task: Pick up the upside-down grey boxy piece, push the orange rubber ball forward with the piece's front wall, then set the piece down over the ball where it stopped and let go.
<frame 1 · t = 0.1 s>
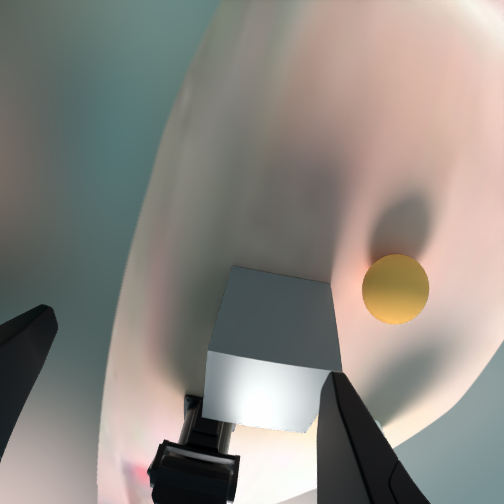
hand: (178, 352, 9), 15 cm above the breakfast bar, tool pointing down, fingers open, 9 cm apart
grey boxy piece: (272, 312, 26), on the breakfast bar
ball: (395, 289, 21), on the breakfast bar
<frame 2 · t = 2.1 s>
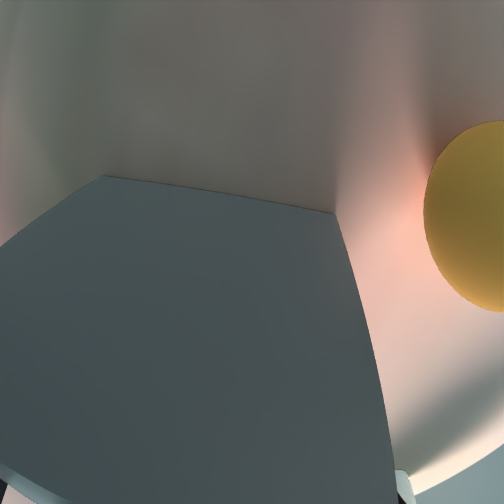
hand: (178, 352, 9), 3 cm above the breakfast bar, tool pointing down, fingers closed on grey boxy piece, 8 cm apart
grey boxy piece: (201, 291, 12), on the breakfast bar, touching gripper
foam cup: (371, 480, 21), on the breakfast bar
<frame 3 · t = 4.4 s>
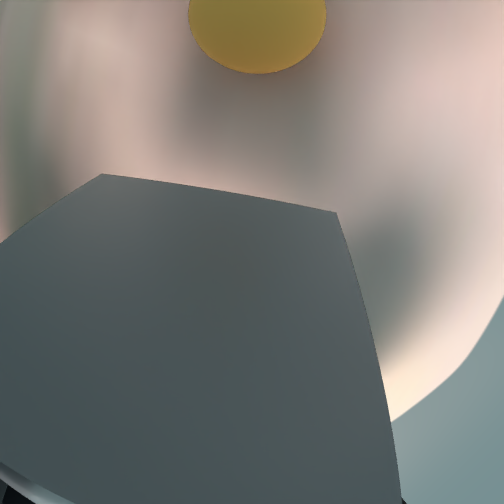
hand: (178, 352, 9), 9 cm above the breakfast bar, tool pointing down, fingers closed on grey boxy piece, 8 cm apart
grey boxy piece: (201, 290, 12), point 6 cm above the breakfast bar, touching gripper
ball: (257, 13, 9), on the breakfast bar
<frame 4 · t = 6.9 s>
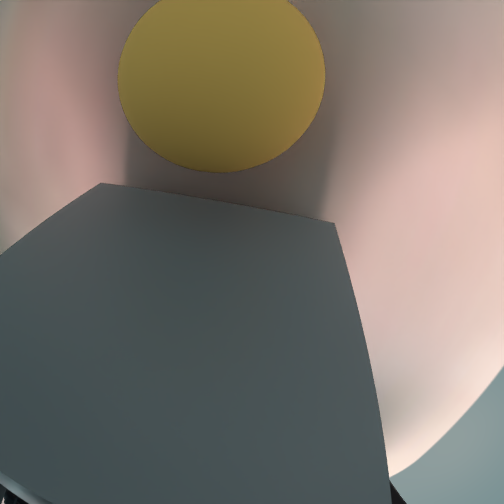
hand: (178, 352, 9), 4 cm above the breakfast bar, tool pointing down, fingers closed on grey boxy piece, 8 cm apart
grey boxy piece: (200, 298, 12), point 2 cm above the breakfast bar, touching gripper
ball: (221, 74, 7), on the breakfast bar
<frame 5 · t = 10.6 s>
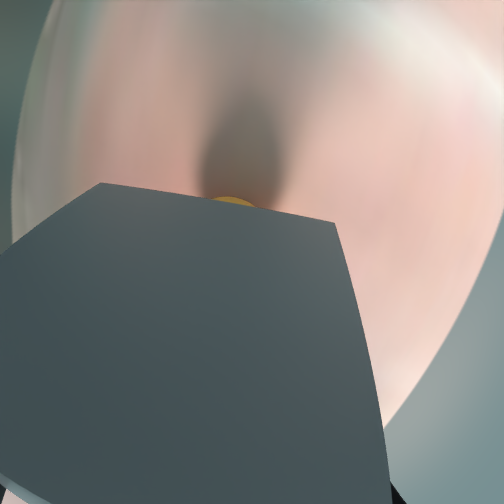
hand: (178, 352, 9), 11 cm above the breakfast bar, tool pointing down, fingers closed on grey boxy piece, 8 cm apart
grey boxy piece: (200, 298, 12), point 8 cm above the breakfast bar, touching gripper
when the fingers open (3 cm above the breakfast bar, at t = 13.8 s): grey boxy piece stays where it is, on the breakfast bar.
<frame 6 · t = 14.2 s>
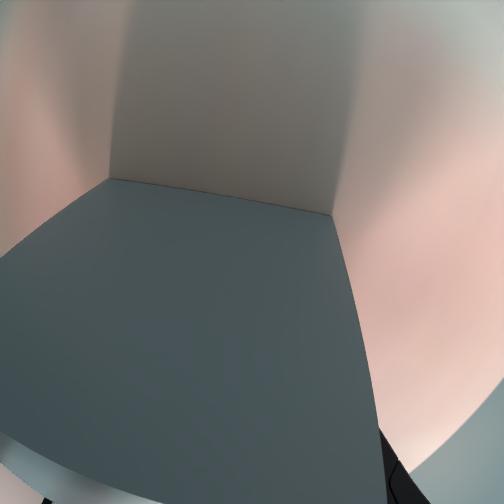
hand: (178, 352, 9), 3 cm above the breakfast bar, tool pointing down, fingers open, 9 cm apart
grey boxy piece: (204, 289, 12), on the breakfast bar
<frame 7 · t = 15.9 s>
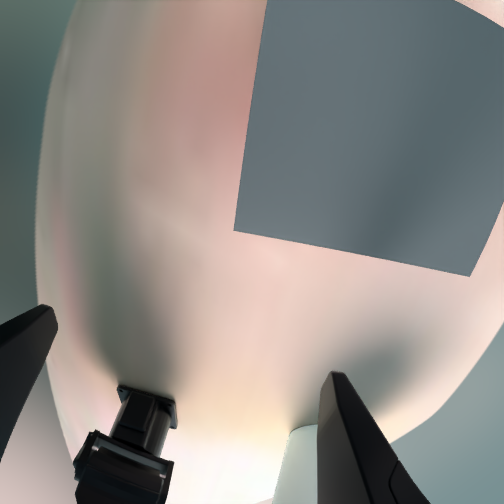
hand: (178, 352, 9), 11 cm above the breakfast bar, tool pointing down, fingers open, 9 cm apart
grey boxy piece: (349, 98, 14), on the breakfast bar
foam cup: (316, 435, 31), on the breakfast bar
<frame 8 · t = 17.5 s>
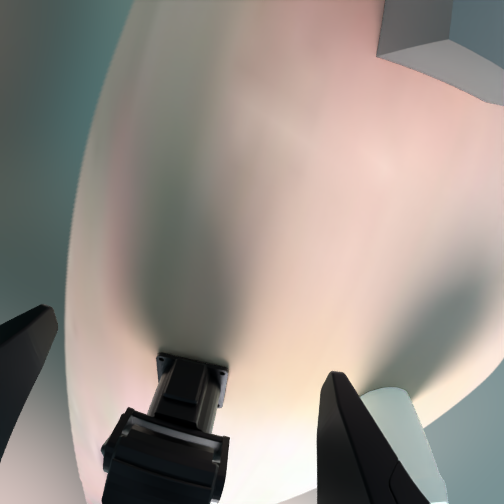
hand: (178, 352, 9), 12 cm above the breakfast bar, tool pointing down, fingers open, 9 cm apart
grey boxy piece: (445, 23, 12), on the breakfast bar
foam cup: (379, 403, 28), on the breakfast bar
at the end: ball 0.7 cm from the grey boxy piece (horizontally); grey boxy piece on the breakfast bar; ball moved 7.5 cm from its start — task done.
